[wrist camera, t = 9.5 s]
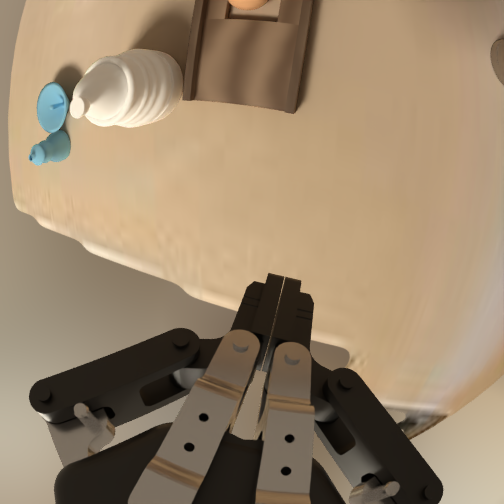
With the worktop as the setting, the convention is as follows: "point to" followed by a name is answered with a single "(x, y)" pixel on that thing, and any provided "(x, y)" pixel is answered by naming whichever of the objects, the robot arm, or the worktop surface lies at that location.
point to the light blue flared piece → (52, 125)
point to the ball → (247, 4)
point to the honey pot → (129, 89)
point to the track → (247, 56)
